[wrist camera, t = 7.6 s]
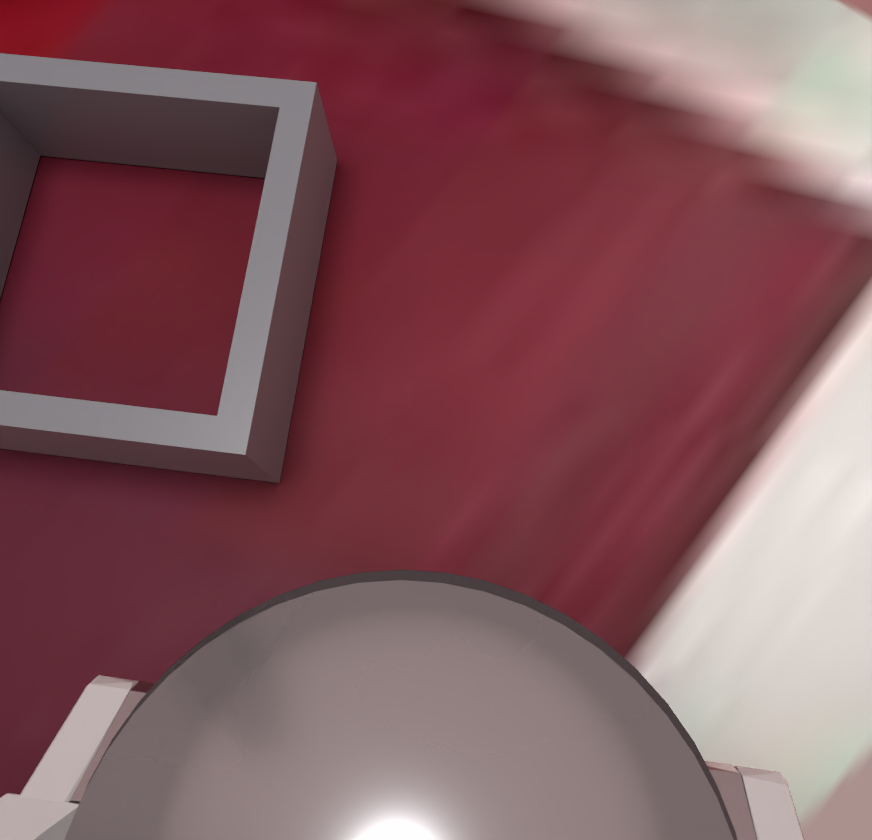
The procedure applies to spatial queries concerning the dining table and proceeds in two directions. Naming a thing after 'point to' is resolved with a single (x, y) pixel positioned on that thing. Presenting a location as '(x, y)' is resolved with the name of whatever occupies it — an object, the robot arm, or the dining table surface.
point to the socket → (268, 262)
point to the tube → (402, 728)
